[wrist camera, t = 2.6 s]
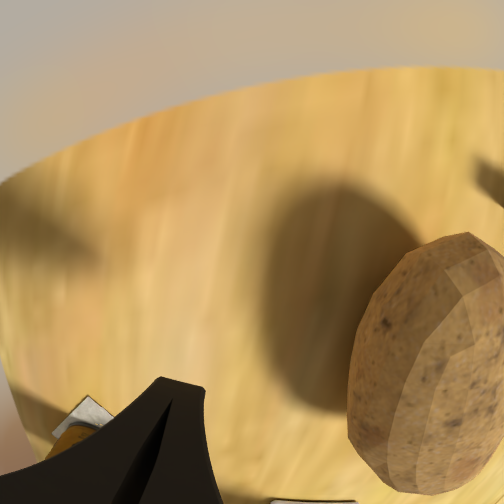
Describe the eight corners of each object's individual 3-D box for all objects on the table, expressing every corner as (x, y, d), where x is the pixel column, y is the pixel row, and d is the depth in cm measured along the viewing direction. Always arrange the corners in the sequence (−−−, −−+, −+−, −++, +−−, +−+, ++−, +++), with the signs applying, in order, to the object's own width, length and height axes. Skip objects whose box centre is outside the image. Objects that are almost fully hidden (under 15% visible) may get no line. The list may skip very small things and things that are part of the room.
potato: (478, 198, 14) (587, 228, 6) (467, 397, 17) (517, 472, 10) (309, 234, 15) (350, 304, 7) (340, 438, 18) (360, 536, 11)
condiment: (52, 431, 20) (-11, 526, 9) (89, 394, 19) (5, 522, 7) (117, 481, 21) (75, 581, 10) (169, 455, 20) (126, 590, 8)
